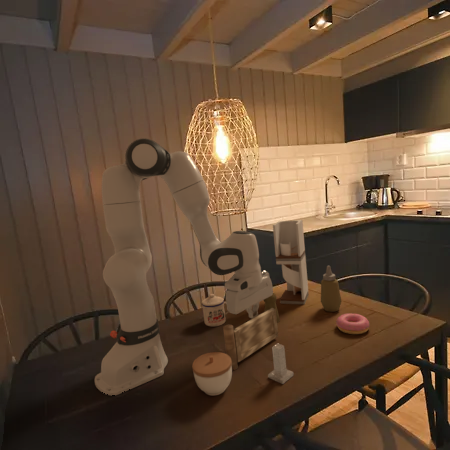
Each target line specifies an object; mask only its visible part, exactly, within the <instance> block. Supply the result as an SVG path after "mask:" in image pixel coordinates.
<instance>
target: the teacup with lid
mask: <svg viewBox="0 0 450 450" xmlns="http://www.w3.org/2000/svg"><path fill="white" fill-rule="evenodd" d="M225 305H226V301H225V300H224V298H223V297H221V296H218V295H217V296H216V295H215V294H214V293H210V294H209V296H208V297H206V298H204V299H203V300H202V301H201V306H202V312H203V320H204V324H205V326H207V327H219V326H222V325H223V324H225V322H226V321H227V319H226V315H227V314H229V313H230V312H229V311H228V310H227V311H226V310H225Z"/></svg>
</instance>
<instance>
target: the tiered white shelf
mask: <svg viewBox="0 0 450 450" xmlns="http://www.w3.org/2000/svg"><path fill="white" fill-rule="evenodd" d="M272 231H273V243H274V253H275V254H274V255H275V261H276V262H275V263H276V265H281V270H282V271H281V272H282V279H284V281H285V282H286V288H287V289H285V290H284V292H283V293H282V294H281V296H280V298H279V304H283V305H284V304H285V305H286V304H287V305H288V304H289V305H306V301H307V299H308V298H309V284H308V283H309V282H308V281H309V280H308V273H307V272H308V271H307V257H306V247H305V246H306V245H305V237H304V224H303V219H297V220H295V219H293V220H279V221H277V222H276V223H274V224H272Z"/></svg>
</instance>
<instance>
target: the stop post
mask: <svg viewBox="0 0 450 450" xmlns="http://www.w3.org/2000/svg"><path fill="white" fill-rule="evenodd" d="M271 350H272V361H273V370H272V371H270V372H269V373H268V374H267V378H269V379H271V380H273V381H275V382H277V383H279V384H281V385H284V384H285V383H286V382H287V381H288V380H290V379H291V378H292V377H294V375H295V374H294V371H292V370H289V369H288V368H287V361H286V352H285V351H286V350H285V345H283V344H280V343H276V344H274V345H273V346H272V347H271Z"/></svg>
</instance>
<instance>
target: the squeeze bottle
mask: <svg viewBox="0 0 450 450" xmlns="http://www.w3.org/2000/svg"><path fill="white" fill-rule="evenodd" d="M331 268H332V267H331V266H330V265H327V266H326V270H325V273H324V274H322V276H323V277H322V280H320V303H321V306H322V308H323V310H324V311H326V312H331V313H333V312H338V311H339V310H340V307H341V304H342V297H341V296H342V295H341V292H340V291H341V290H340V286H339V281H338V280H337V279H336V274H335V273H333V272H332V269H331Z"/></svg>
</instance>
